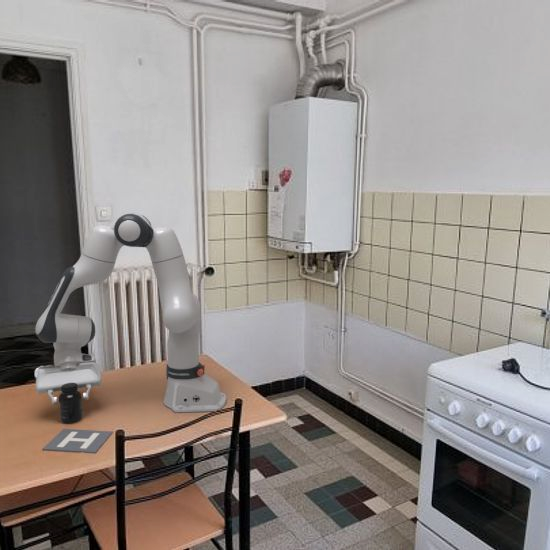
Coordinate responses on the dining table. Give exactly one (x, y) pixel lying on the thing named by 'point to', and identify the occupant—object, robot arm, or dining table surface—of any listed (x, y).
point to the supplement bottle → (70, 404)
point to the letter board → (78, 441)
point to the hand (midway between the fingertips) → (70, 401)
